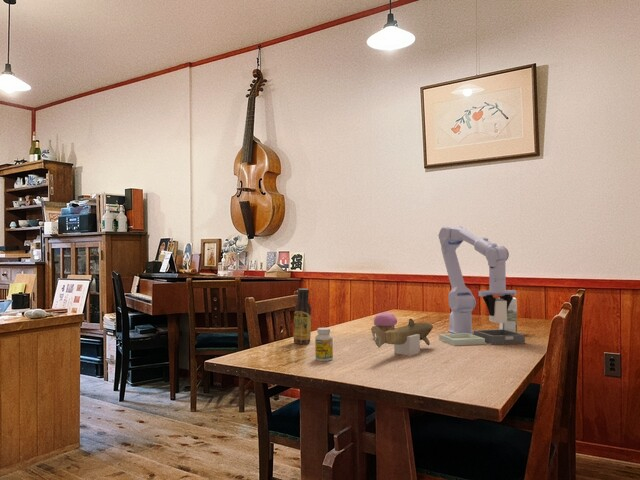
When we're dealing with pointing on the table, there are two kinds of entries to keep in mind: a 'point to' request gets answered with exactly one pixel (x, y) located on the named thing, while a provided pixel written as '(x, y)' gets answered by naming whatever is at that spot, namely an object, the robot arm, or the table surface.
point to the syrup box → (511, 317)
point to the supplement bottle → (324, 345)
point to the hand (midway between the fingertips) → (497, 315)
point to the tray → (461, 339)
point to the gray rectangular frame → (500, 336)
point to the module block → (499, 311)
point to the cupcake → (385, 321)
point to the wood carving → (404, 337)
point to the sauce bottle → (302, 318)
